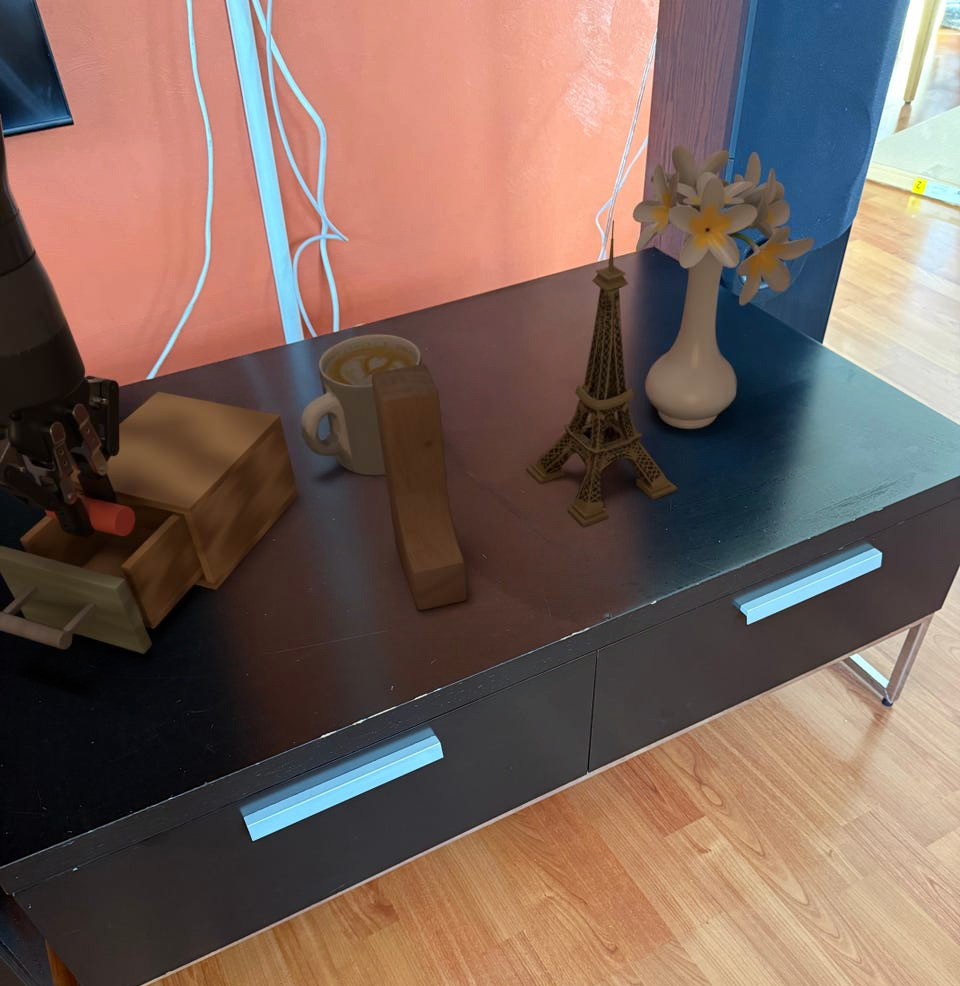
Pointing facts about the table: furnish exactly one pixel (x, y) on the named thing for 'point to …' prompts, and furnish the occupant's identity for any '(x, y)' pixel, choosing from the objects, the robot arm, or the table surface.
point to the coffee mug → (354, 399)
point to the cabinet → (206, 473)
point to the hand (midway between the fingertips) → (93, 522)
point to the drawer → (99, 580)
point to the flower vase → (711, 273)
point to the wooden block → (419, 485)
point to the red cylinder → (106, 516)
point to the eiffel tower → (602, 414)
